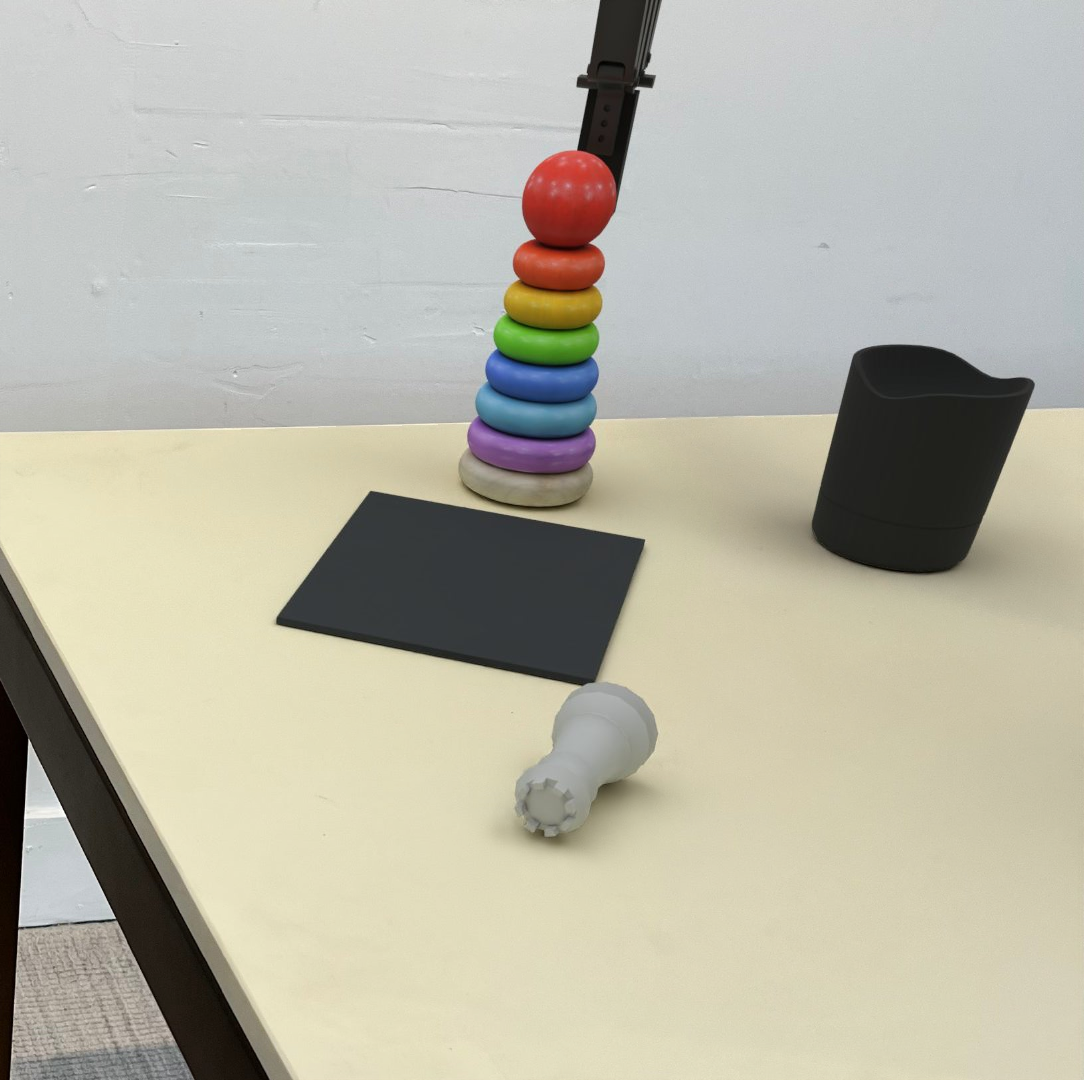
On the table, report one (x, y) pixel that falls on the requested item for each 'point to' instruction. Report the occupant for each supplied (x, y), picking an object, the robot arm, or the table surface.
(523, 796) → the rook chess piece
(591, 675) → the felt mat
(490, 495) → the stacking toy
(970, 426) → the pen holder
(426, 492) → the table surface
